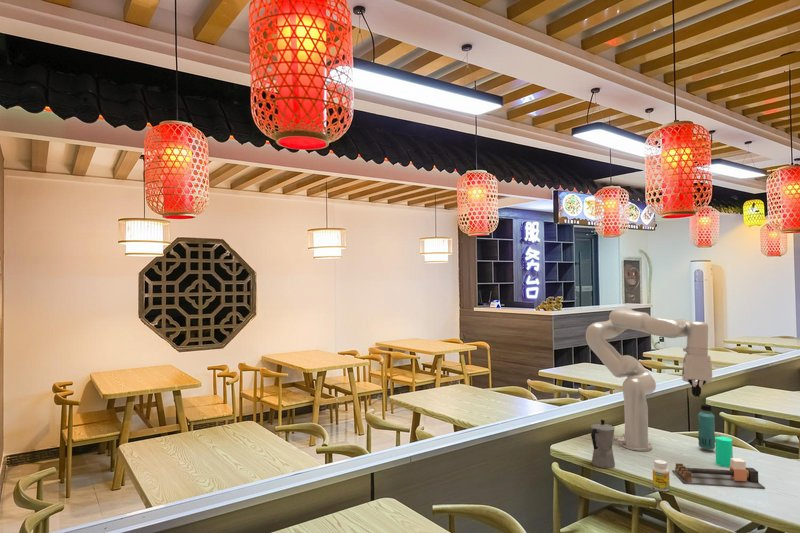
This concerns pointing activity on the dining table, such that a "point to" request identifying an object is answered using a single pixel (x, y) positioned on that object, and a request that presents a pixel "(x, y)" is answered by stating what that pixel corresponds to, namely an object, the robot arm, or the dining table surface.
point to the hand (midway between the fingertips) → (696, 395)
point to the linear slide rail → (715, 477)
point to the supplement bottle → (661, 476)
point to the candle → (723, 451)
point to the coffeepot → (602, 445)
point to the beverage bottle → (706, 428)
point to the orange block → (738, 469)
